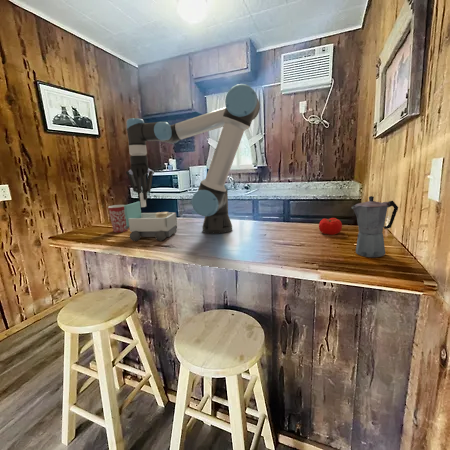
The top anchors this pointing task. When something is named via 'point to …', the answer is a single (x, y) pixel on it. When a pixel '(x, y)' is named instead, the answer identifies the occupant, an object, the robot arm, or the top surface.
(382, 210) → the moka pot
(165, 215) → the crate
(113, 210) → the mug
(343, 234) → the top surface
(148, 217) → the trailer
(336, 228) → the tomato
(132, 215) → the tailgate
